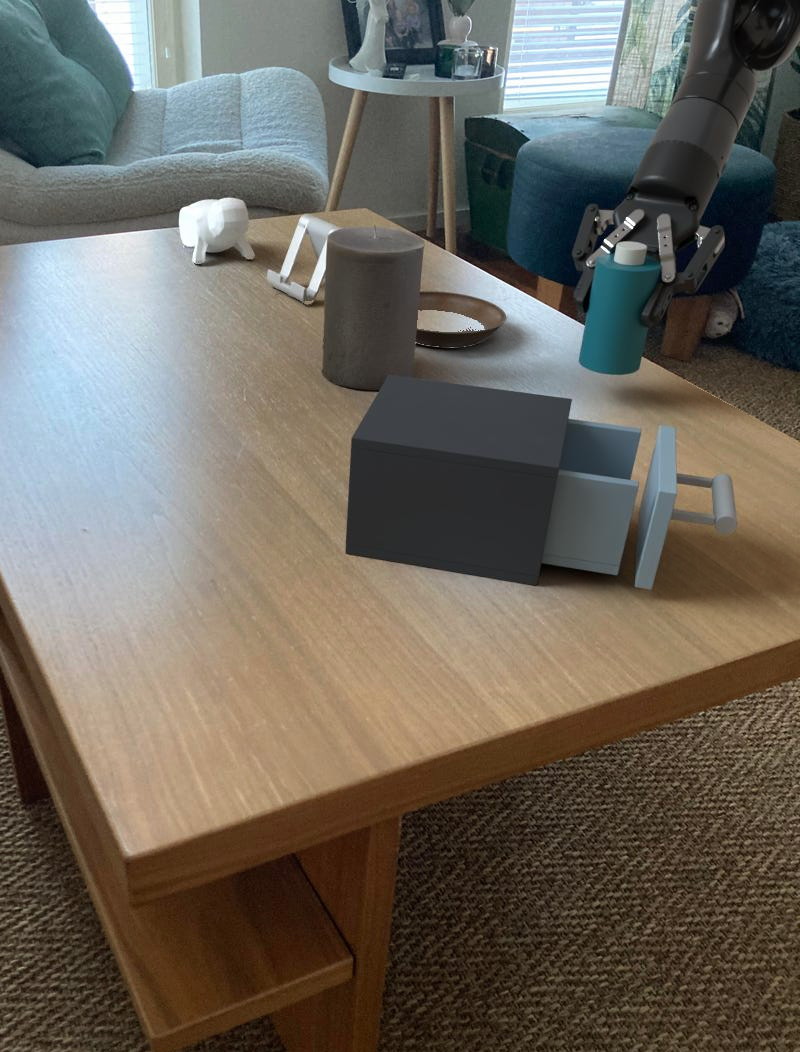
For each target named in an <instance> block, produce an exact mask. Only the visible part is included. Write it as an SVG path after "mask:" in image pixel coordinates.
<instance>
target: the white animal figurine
mask: <svg viewBox="0 0 800 1052" xmlns="http://www.w3.org/2000/svg"><path fill="white" fill-rule="evenodd" d="M249 225H250V217H249V211H248V208H247V205H246V203H245V201H244V200H243V199H239V198H236V197H223V198H220V199H213V198H211V199H202V200H198V201H196V202H193V203H191V204H190V205H187V206H183V207H181V208H180V211H179V216H178V228H179V235H180V241H181V242H182V244H184V245H186V246H187V247H186V248H194V249H193V253H192V257H191V258H192V264H193V265H195V264H194V263H196V264H197V263H203V264H204V263H205V262H206V253H221V252H225V251H226V250H229V249H231V248H234V249H235V250H237V251H238V252H239V253H240V255H241V256H242V257H243V256H244V257H246V258H250V257H254V256H255V257H256V254H255V251H254V250H253V248H252V246H251V244H250V243H249V241H248V239H247V238H246V236H245V234H247V232H248V231H249ZM182 246H183V245H182ZM183 248H185V247H184V246H183ZM193 262H194V263H193Z"/></svg>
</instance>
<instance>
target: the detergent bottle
mask: <svg viewBox="0 0 800 1052" xmlns="http://www.w3.org/2000/svg"><path fill="white" fill-rule="evenodd" d="M646 251H647V246H646V245H644V244H642V243H638V242H619V243H617V245H616V251H615V253H610V254H604V255H601V256H599V257H598V258H597V259H596V265H595V270H594V276H593V282H592V288H591V293H590V299H589V305H588V310H587V312H586V317H585V322H584V328H583V334H582V339H581V344H580V350H579V356H578V364H579V365H580V366H582V368H584V369H586V370H588V371H591V372H593V373H599V374H603V375H610V376H623V375H624V376H625V375H631V374H634V373H636V372H638V371H639V370H640V367H641V363H642V358H643V354H644V349H645V344H646V340H647V335H648V330H649V328H646V327H643V325H642V321H641V316H642V313H643V310H644V308H645V306H646V304H647V302H648V300H649V297H650V295H651V293H652V291H653V289H654V287H655V285H656V282H659V278H660V275H661V263H660V261H657V260H655V259H653V258H650V257H647V256H646Z"/></svg>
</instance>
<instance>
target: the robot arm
mask: <svg viewBox="0 0 800 1052" xmlns="http://www.w3.org/2000/svg"><path fill="white" fill-rule="evenodd" d="M697 3H698V4H697V5H696V8H695V12H694V16H693V22H692V27H691V34H690V43H689V49H688V55H687V59H686V65H685V71H684V74H683V77H682V80H681V81H680V84H679V87H678V88H677V91H676V93H675V95H674V97H673V99H672V101H671V103H670V105H669V107H668V110H667V112H666V113H665V115H664V117H663V118H662V120H661V121H660V123H659V124H658V126H657V127H656V130H655V131H654V134H653V136H652V138H651V140H650V143H649V145H648V147H647V149H646V151H645V153H644V155H643V157H642V159H641V162H640V163H639V166H638V168H637V170H636V172H635V175H634V177H633V179H632V181H631V183H630V185H629V187H628V189H627V192H626V195H625V197H624V200H623V201H622V202H621V203H620V204H619V205H617V206H616V207H615V209H612V210H611V209H599V205H598V204H597V203H590V204H588V205H587V206H586V207H585V210H584V213H583V217H582V219H581V223H580V226H579V228H578V232H577V236H576V239H575V242H574V245H573V248H572V251H571V256H572V259H573V262H574V265H575V269H576V270H577V271H578V272H582V274H581V276H580V278H579V281H578V282H577V285H576V287H575V289H574V291H573V301H574V304H575V307H576V310H577V312H578V313H580V314H587V310H588V305H589V299H590V293H591V288H592V282H593V276H594V270H595V265H596V259H597V258H598V257H599V256H601V255H604V254H610V253H615V251H616V245H617V243H619V242H638V243H642V244H644V245H646V246H647V251H646V256H647V257H650V258H653V259H655V260H657V261H659V262H660V263H661V270H660V276H661V279H660V281H658V282H656V285H655V287H654V289H653V291H652V293H651V295H650V297H649V300H648V302H647V304H646V306H645V308H644V310H643V313H642V316H641V321H642V325H643V327H646V328H648V329H652V327H653V325H654V324H657V325H658V324H659V323H660V322H661V321H662V319H663V317H664V315H665V313H666V310H667V308H668V306H669V304H670V302H671V299H672V297H674V295H675V294H678V293H684V292H685V294H688V295H693V294H695V293H696V292H698V290H699V289H700V287H701V285H702V283H703V282H704V280H705V278H707V276H708V274H709V272H710V271H711V269H712V268H713V266H714V265H715V263H716V261H717V260H718V258H719V256H720V255H721V253H722V252H723V250H724V248H725V245H726V244H725V231H724V227H723V226H722V225H720V224H716V225H714V226H711V228H710V227H707V226H705V225H701V224H700V221H701V219H702V217H703V215H704V213H705V211H706V209H707V206H708V204H709V202H710V200H711V197H712V195H713V193H714V191H715V190H716V187H717V184H718V182H719V181H720V179H721V177H722V176H723V174H724V172H725V170H726V167H727V163H728V161H729V158H730V156H731V153H732V150H733V146H734V143H735V140H736V138H737V136H738V135H737V134H738V132H739V130H740V129H741V126H742V124H743V122H744V120H745V117H746V115H747V113H748V111H749V109H750V108H751V105H752V102H753V100H754V98H755V95H756V91H757V77H756V73H755V72H764V71H769V70H772V69H775V68H776V67H778V66H780V65H781V64H783V63H784V62H785V61H786V60H787V59H788V58H789V57H790V56H791V54H792V53H793V51H794V50H795V49H796V47H797V46H798V44H799V42H800V0H698V2H697ZM610 225H613V227H614V230H613V231H612V232H611V233H610V234H609V235H608V236H607V237H605V239H604V240H603V241H602V244H601V246H600V247H599V248H598V249H596V251H594V249H595V246H596V243H597V240H598V236H601V235H603V234H604V232H605V231H606V229H607V228H608V226H610ZM696 240H697V241H696ZM695 241H696V248H697V250H696V252H695V253H694V255H693V256H692V257H691V259H690V261H689V262H688V265H686V268H685V269H684V271H681V272H677V267H676V266H677V265H676V254H677V253H678V252H680V251H681V250H683V249H685V248H686V247H687V246H689V245H690V244H692V243H693V242H695Z"/></svg>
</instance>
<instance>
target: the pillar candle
mask: <svg viewBox="0 0 800 1052" xmlns="http://www.w3.org/2000/svg"><path fill="white" fill-rule="evenodd" d="M425 245H426V244H425V240H424V239H423V238H422V237H421V236H419V235H417V234H414V233H412V232H409V231H405V230H401V229H397V228H394V227H382V226H377V225H376V224H375V223H373V224H372V226H349V227H344V228H343V229H338V230H336V231H333V232H332V233H330V234H329V235H328V238H327V249H326V272H325V281H324V295H323V296H324V303H323V305H324V306H323V307H324V309H323V310H324V311H323V312H324V313H323V338H322V343H323V344H322V369H321V374H322V375H323V377H324V378H325V379H326V380H327V381H328V382H330V383H332V384H333V385H337V386H341V387H345V388H349V389H355V390H362V391H363V390H365V391H380V389H381V387H382V386H383V384H384V382H385V380H386V379H387V377H388V375H396V376H404V377H412V378H413V372H414V364H415V363H414V361H415V354H416V344H415V342H416V332H417V320H418V310H419V296H420V291H421V282H422V271H423V260H424V251H425Z"/></svg>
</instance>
